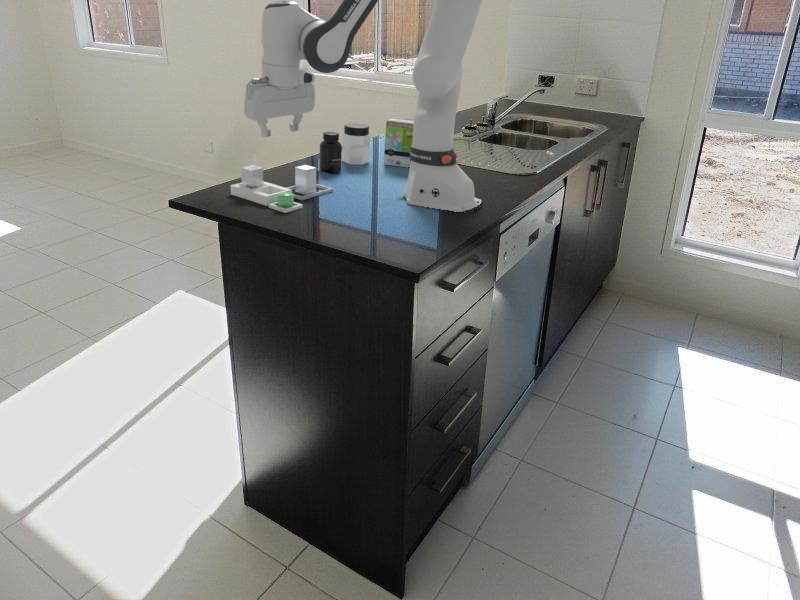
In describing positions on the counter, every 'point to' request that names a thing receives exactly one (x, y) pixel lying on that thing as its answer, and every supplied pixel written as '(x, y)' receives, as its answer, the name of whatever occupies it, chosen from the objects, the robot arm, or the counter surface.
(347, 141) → the jar
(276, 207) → the button housing
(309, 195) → the tote
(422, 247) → the counter surface
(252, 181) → the block
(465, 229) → the counter surface
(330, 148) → the supplement bottle
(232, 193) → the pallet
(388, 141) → the tea box
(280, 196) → the button
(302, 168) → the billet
